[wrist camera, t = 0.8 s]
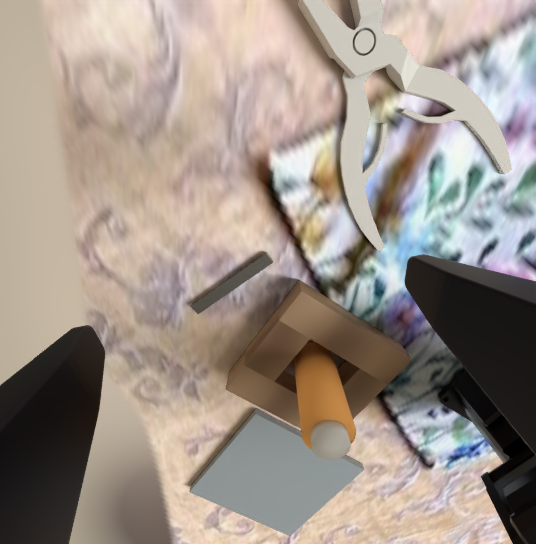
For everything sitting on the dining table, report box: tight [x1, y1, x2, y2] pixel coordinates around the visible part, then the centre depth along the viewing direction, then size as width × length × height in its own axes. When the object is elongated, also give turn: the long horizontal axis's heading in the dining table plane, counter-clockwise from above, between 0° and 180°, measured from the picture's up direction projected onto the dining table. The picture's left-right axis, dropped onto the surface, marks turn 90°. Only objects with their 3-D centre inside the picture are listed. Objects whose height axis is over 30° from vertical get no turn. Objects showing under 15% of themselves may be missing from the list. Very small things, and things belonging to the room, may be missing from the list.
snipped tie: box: [191, 252, 273, 314], centre depth 22 cm, size 7×1×1 cm, turn 126°
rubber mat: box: [190, 409, 364, 536], centre depth 29 cm, size 12×12×1 cm
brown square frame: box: [226, 280, 412, 428], centre depth 24 cm, size 10×10×2 cm
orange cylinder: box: [293, 342, 356, 460], centre depth 21 cm, size 3×3×8 cm
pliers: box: [298, 0, 512, 251], centre depth 18 cm, size 10×2×15 cm
